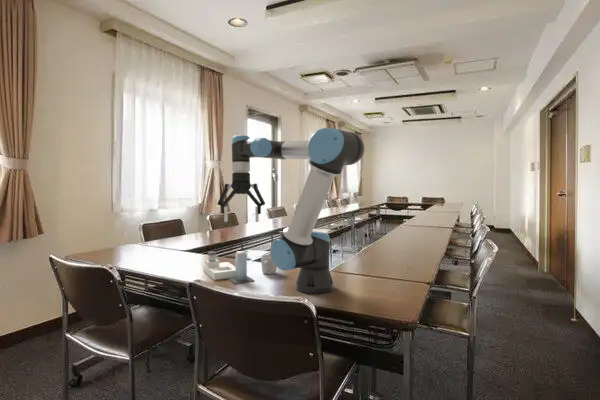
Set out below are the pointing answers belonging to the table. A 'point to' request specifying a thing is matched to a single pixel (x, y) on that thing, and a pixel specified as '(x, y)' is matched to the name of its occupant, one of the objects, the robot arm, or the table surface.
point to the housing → (219, 269)
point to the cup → (268, 265)
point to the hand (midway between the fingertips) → (241, 221)
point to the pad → (240, 281)
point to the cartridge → (241, 266)
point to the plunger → (212, 256)
